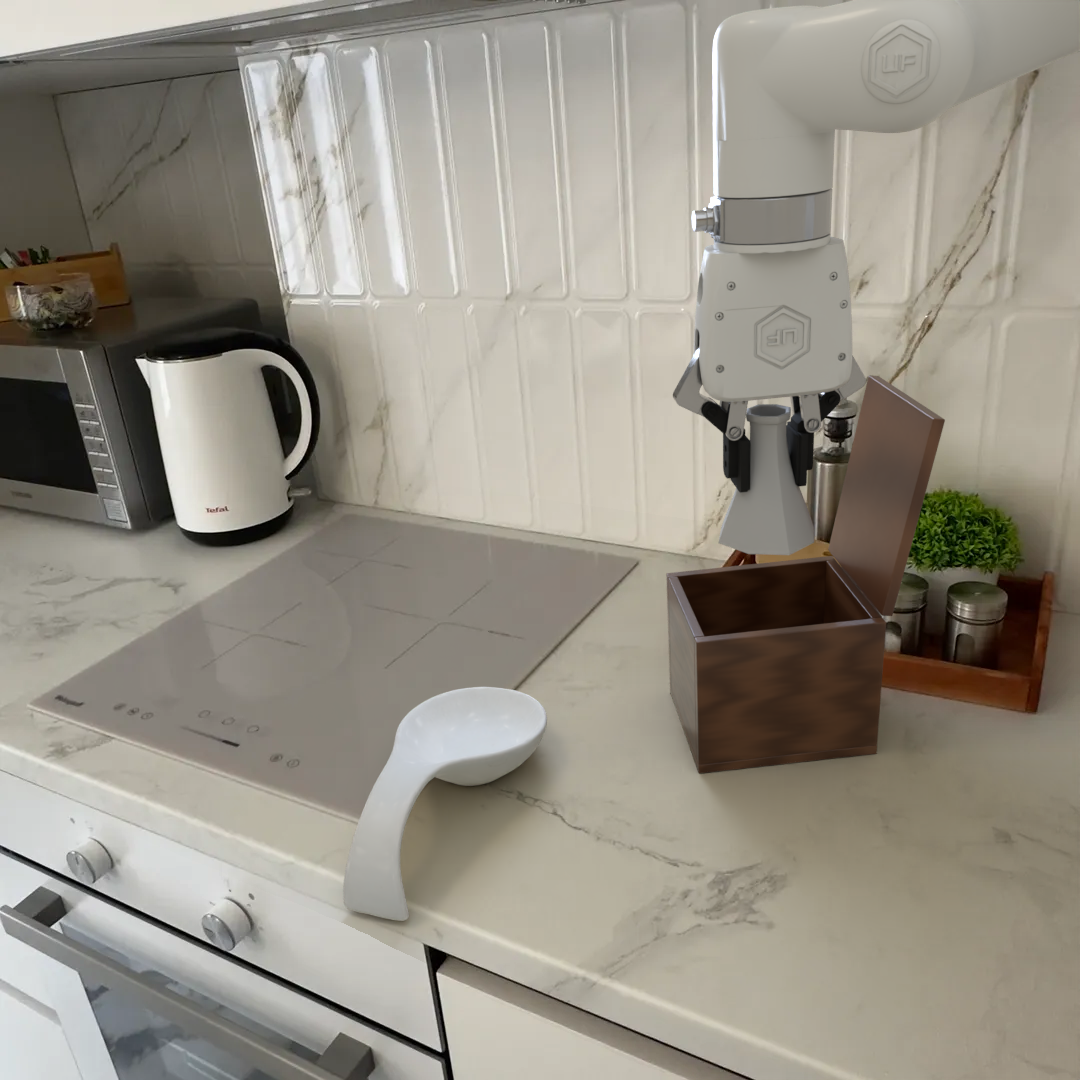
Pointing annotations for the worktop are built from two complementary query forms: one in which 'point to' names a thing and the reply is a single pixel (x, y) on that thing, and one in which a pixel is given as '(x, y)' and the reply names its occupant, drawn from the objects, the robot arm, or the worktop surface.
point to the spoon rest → (417, 757)
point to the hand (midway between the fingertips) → (767, 480)
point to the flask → (768, 493)
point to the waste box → (774, 663)
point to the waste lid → (884, 490)
